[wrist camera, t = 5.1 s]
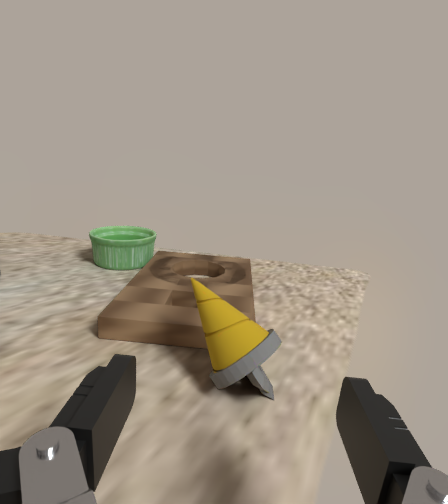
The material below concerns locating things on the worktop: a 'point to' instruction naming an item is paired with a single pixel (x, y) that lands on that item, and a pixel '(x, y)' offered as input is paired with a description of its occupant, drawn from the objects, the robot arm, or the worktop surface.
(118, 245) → the ramekin
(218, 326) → the drill bit
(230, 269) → the socket board
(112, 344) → the worktop surface
